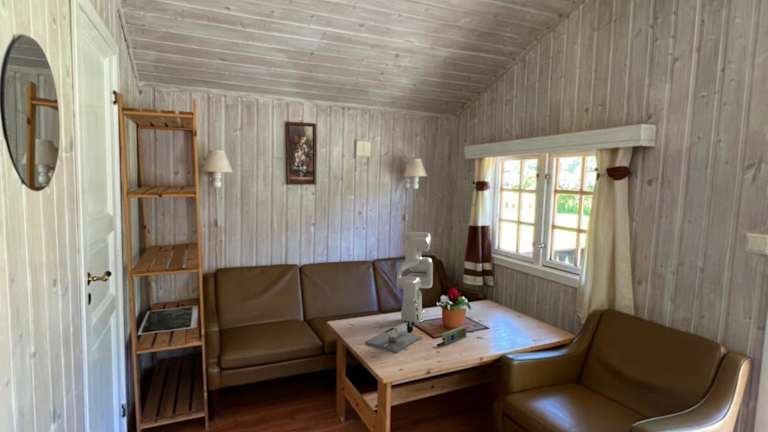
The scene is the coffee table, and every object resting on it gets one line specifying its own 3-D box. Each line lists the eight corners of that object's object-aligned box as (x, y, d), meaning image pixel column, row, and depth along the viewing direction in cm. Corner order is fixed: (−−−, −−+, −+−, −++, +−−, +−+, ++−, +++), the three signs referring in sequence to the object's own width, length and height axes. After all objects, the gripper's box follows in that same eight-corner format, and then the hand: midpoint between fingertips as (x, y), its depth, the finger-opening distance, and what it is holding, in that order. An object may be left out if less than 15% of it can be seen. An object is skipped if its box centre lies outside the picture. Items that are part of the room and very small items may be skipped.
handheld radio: (467, 337, 257) (440, 348, 241) (463, 335, 260) (435, 346, 243) (467, 326, 257) (439, 336, 240) (462, 324, 259) (435, 335, 243)
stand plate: (391, 330, 267) (391, 327, 267) (421, 338, 254) (421, 335, 254) (365, 343, 247) (365, 340, 247) (396, 353, 234) (396, 350, 233)
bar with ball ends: (406, 330, 262) (406, 318, 261) (413, 332, 259) (413, 320, 258) (382, 343, 242) (382, 330, 242) (389, 345, 239) (389, 332, 239)
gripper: (424, 302, 245) (424, 333, 247) (402, 297, 254) (402, 327, 256) (417, 305, 239) (417, 337, 241) (395, 300, 248) (395, 331, 250)
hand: (409, 332), depth 248 cm, fingers closed
